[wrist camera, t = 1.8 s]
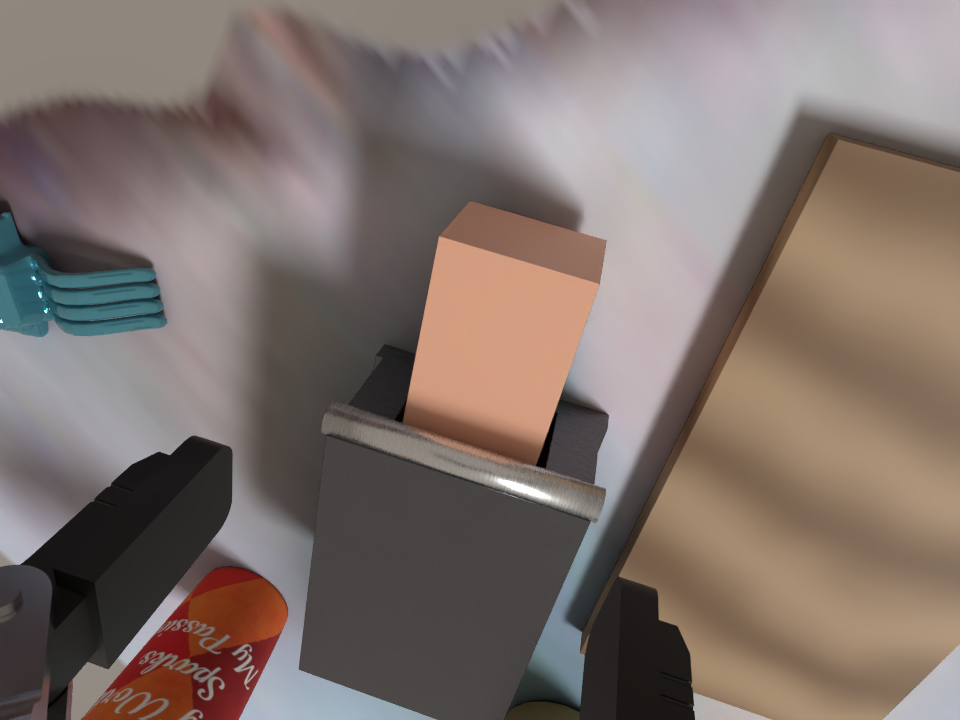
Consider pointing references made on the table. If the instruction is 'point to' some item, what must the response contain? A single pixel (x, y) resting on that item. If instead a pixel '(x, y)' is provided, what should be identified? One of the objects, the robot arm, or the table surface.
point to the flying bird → (70, 293)
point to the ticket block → (501, 329)
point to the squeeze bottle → (542, 712)
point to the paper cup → (201, 654)
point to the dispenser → (440, 551)
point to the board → (824, 457)
